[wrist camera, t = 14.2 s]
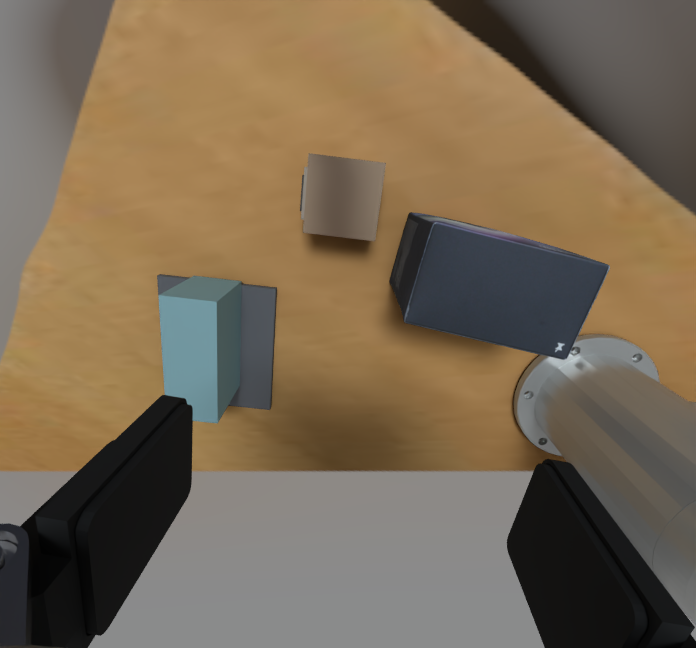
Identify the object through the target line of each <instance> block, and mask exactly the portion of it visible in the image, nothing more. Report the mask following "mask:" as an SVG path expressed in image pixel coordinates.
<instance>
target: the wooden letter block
mask: <svg viewBox="0 0 696 648" xmlns="http://www.w3.org/2000/svg"><path fill="white" fill-rule="evenodd" d="M385 166H386V163H381V162H373V161H365V160H357V159H349V158H341V157H333V156H325V155H317V154H309V156H308V167H305V169H304V175H303V176H302V191H301V205H300V211H302V212H301V219H304V225H303V233H311V234H319V235H327V236H335V237H344V238H352V239H360V240H368V241H375V238H376V230H377V223H378V216H379V209H380V202H381V194H382V187H383V180H384V173H385Z"/></svg>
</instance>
